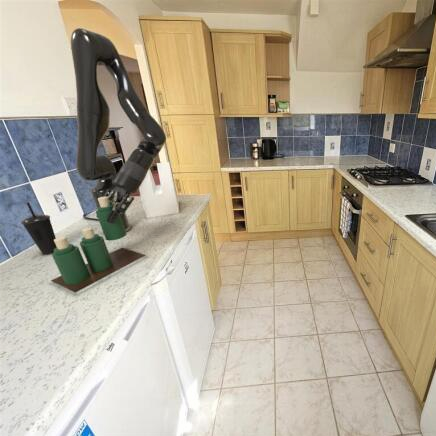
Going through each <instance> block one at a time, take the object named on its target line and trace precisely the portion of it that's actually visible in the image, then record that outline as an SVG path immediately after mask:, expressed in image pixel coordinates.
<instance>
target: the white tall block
mask: <svg viewBox="0 0 436 436" xmlns="http://www.w3.org/2000/svg"><path fill="white" fill-rule="evenodd" d="M156 168H157V172H158V173H157V174H158V179H159V183H160V184H157V185H156V182H155V179H154V176H153V173H152V170H151V168H150V169H149V171H148V172H147V175H146V177H145V179H144V181H143V182H142V184H141V186H140V187H139V189H138V191H139V197H140V199H141V204H142V207H143V210H144V214H145V217H146V219H150V218H156V217H163V216H168V215H169V216H170V215H175V214H180V203H179V198H178V194H177V190H176V185H175V180H174V176H173V172H172V168H171V164H170V161H167V162H165V161H164V162H156Z"/></svg>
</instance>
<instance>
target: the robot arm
mask: <svg viewBox="0 0 436 436" xmlns="http://www.w3.org/2000/svg"><path fill="white" fill-rule="evenodd" d="M70 51H71V57H72V62H73V69H74V77H75V90H76V117H77V118H76V121H77V146H76V147H77V148H76V157H75V158H76V159H75V167H76V171H77V174H78V175H79V177H80V178H81V179H83V180H84V181H86V182H87V181H88V182H92V181H97V183H96V184H95V186H93V187H92V188H91V190H90V193H91V196H92V199H93V201H94V204H95V207H96V211H97V210H98V207H99V206H100V204H99V201H98V198H100V197H108V200H109V203H110V204H113V205H114V206H113V209H112V210H113V211H111V212H110V214H109V215H108V217H107V219H106V221H107V222H109V223H114V221H115V220H116V218H117V216H118V215H119V213H120V216H121V219H122V222H123V225H124V228H125V231H126V232H128V231H130V230H131V225H130V222H129V219H128V216H127V213H126V212H127V211H128V209H129V208H130V206H131V204H132V203H133V201H134V200H135V196H133V194H134V195H135V194H137V192H138V191H139V187H140V186H141V184H142V182H143V181H144V179H145V177H146V175H147V172H148V171H149V169H150V170H151V167H152V166H153V164H154V161H155V159H157V156H158V155H159V154H160V152H161V150H162V149H163V148H164V146H165V143H166V141H167V137H166V133H165V131H164V129H163V128H162V126H161V125H160V123H159V122H158V121H156V119H155V117H154V116H152V115H151V113H150V110H149V109H148V107H147V106H146V104H145V103H144V102H143V100H142V98H141V97H140V95H139V93H138V91H137V90H136V88H135V86H134V83H133V81H132V80H131V77H130V75H129V73H128V71H127V69H126V66H125V65H124V62H123V59H122V57H121V55H120V53H119V51H118V49H117V48H116V46H115V44H114V42H113V41H112V40H111V39H110V38H108V37H107V36H105V35H103V34H100V33H98V32H94V31H91V30H89V29H85V28H80V27H79V28H78V27H77V28H75V29H74V30H73V31H72V33H71V35H70ZM98 66H100V67H103V68H104V69H105V70H106V71H107V73H108V74H109V75H110V76H111V78H112V80H113V82H114V85H115V92H116V97H117V101H118V103H119V105H120V107H121V109H122V111H123V112H124V113H125V115H126V117H127V118H128V120H129V121H130V122H131V123H132V125H134V126H136V127H137V129H138V131H139V132H140V133H141V135H142V138H141V140H140V142H139V143H138V145H137V146H136V148H135V149H134V150H133V151H132V152H131V153H130V155H129V157H128V158H127V160H126V161H125V162H124V163H123V164H122V166H121V167H120V169H119V171H118V172H116V168H115V165H114V163H113V161H112V160H111V159H110V158H109V157H108V156H107V155H105V154H98V151H99V148H100V145H101V143H102V141H103V140H104V138H105V136H106V135H107V133H108V131H109V128H110V122H111V121H110V116H111V109H110V106H109V103H108V101H107V99H106V97H105V95H104V94H103V92H102V90H101V88H100V85H99V81H98ZM131 194H132V195H131ZM83 214H84V213H83ZM83 214H82V217H83V218H84V219H86V220H91V221H99V220H98V217H97V215H96V216H95V217H96V218H93V217H87V216H86V213H85V214H84V215H83Z"/></svg>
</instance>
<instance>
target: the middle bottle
mask: <svg viewBox="0 0 436 436" xmlns="http://www.w3.org/2000/svg"><path fill="white" fill-rule="evenodd" d="M81 232H82V234H83V237H82V238H81V241H80V242H79V246H80V248H81V251H82V253H83V255H84V258H85V260H86V262H87V263H88V265H89V267H90V270H91V271H92V272H99V271H103V270H106V269H108V268H109V267H111V266H112V264H113V263H112V260H111V257H110V255H109V253H110V252H109V250H108V246H107V245H106V241H105V239H104V236H101V235H99V234H98V233H95V231H94V228H93V227H91V226H90V227H85V228H82V229H81Z"/></svg>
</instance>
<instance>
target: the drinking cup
mask: <svg viewBox="0 0 436 436" xmlns="http://www.w3.org/2000/svg"><path fill="white" fill-rule="evenodd" d="M26 206H27V208H28V210H29V212H30V214H31V216H28V217H26V218H25V219H23V220H21V221H20V224H21V225H22V226H23V227H24V228H25V230H26V232H27V233H28V234H29V236H30V238H31V239H32V240H33V242H34V243H35V245H36V246H37V248H38V249H39V251H40V252H41V254H42V255H52V253H53V252H54V249H55V248H57V246H56V244H55V242H54V239H56V238H57V237H56V235H55V231H54V228H53V225H52V221H51V216H50V215H48V214H35V212H34V209H33V208H32V205H31V204H30V202H26Z"/></svg>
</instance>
